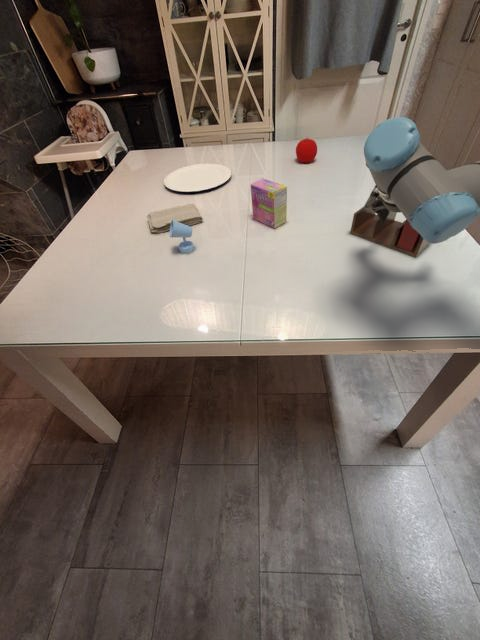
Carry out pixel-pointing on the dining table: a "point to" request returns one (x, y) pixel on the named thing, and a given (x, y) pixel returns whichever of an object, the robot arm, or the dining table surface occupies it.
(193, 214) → the washcloth
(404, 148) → the robot arm
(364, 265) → the dining table surface
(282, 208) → the box
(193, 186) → the plate
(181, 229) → the spotlight
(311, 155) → the fruit
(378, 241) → the rack
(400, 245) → the upright red slab
